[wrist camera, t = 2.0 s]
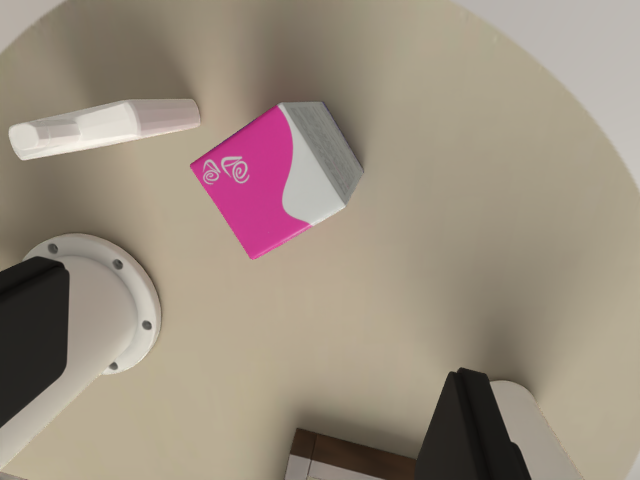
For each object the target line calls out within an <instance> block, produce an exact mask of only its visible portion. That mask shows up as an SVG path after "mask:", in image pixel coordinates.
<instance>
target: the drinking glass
mask: <svg viewBox="0 0 640 480" xmlns="http://www.w3.org/2000/svg"><path fill="white" fill-rule="evenodd" d="M490 385H491V388H492V390H493V393H494V396H495V399H496V401H497V404H498V407H499V410H500V413H501V415H502V418H503V421H504V424H505V426H506V429H507V432H508V435H509V437H510V440H511V442H514V443H516V444H517V445H518V447H519V448H520V450H521V452H522V455H523V458H524V460H525V463H526V466H527V468H528V471H529V474H530V476H531V479H532V480H584V478H583V477H582V475H581V473H580V472H579V470H578V469H577V467H576V466H575V464H574V463H573V461H572V459H571V458H570V456H569V455H568V453H567V452H566V450H565V448H564V447H563V445H562V444H561V442H560V441H559V439H558V437H557V436H556V434H555V433H554V431H553V429H552V428H551V426H550V425H549V423H548V421H547V420H546V418H545V417H544V415H543V413H542V411H541V409H540V407H539V405H538V403H537V401H536V400H535V398H534V396H533V395H532V394H531V393H530V392H529V391H528V390H527V389H526V388H525V387H523V386H521V385H519V384H517V383H515V382H511V381H505V380H497V381H491V382H490Z"/></svg>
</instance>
